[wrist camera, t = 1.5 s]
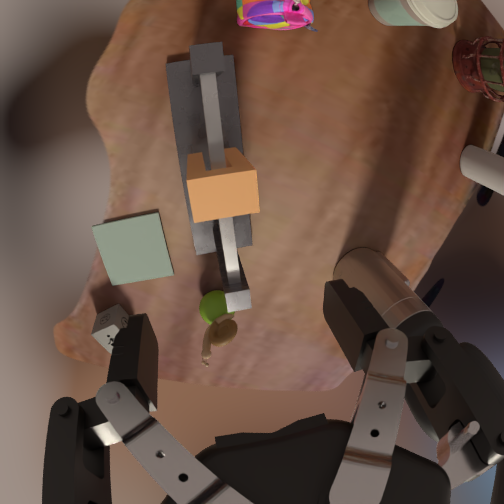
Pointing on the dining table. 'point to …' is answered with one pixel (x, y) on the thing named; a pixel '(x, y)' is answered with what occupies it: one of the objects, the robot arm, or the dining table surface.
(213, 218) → the c link
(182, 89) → the rail stand
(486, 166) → the bottle
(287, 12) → the pencil case
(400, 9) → the coffee cup
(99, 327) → the dice cube
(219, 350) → the dining table surface
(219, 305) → the snail figurine
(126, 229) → the felt mat
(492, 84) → the lantern
